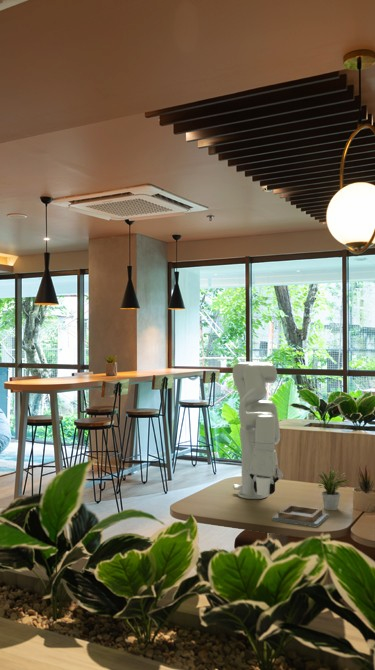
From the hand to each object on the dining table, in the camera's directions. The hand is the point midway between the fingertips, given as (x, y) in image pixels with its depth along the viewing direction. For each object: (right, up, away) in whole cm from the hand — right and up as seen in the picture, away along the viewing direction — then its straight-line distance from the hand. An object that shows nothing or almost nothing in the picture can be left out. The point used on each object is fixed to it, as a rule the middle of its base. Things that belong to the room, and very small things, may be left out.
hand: (264, 491), depth 237 cm
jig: (+12, -8, -10) cm, 18 cm away
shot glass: (0, -1, 0) cm, 1 cm away
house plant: (+27, -8, +4) cm, 28 cm away
